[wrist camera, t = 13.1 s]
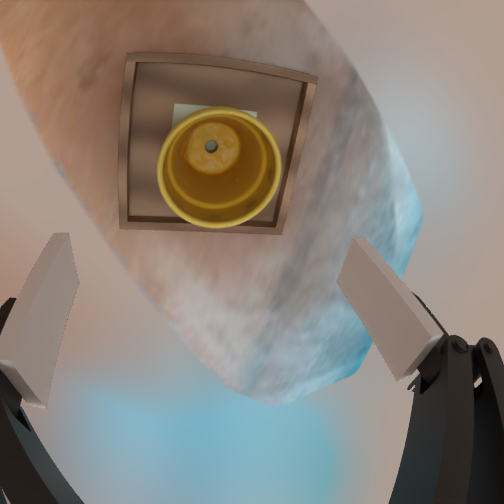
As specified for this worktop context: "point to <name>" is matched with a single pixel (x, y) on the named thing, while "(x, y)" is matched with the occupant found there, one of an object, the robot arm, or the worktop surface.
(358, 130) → the worktop surface
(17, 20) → the worktop surface
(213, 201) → the plant pot
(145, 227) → the walnut tray
